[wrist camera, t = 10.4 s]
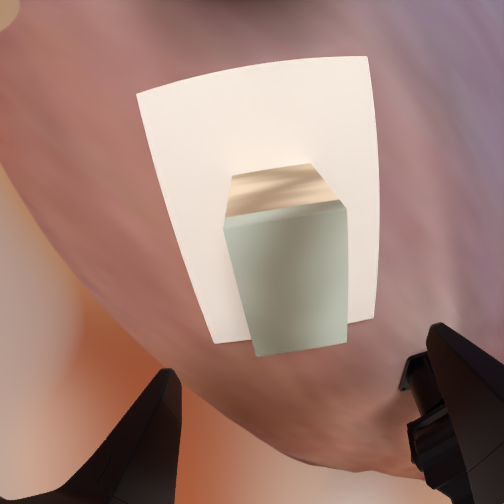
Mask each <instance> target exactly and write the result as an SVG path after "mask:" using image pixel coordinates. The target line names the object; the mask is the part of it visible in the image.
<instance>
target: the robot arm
mask: <svg viewBox="0 0 504 504" xmlns="http://www.w3.org/2000/svg"><path fill="white" fill-rule="evenodd" d="M426 346H427V350H428V351H427V352H424V353H421V354H417V355H414V356H411V357H410V358H409V359H408V361H407V365H406V368H405V371H404V374H403V377H402V380H401V383H400V386H399V389H400V391H405V390H408V389H411V391H412V394H413V396H414V399H415V401H416V404H417V407H418V409H419V412H420V415H421V417H420V418H418V419H416V420H415V421H413V422H410V423H408V424H407V428H408V430H407V433H408V438H409V444H410V450H411V462H412V463H413V464H415V465H416V466H417V467H418V469H419V470H420V471H421V472H424V475H425V480H426V483H427V485H428V486H429V487H431V488H432V489H437V490H439V491H440V492H442V493H443V494H445V495H446V496H448V497H449V498H450V499H451V501H452V504H504V365H503V364H502V363H501V362H499V361H498V360H496V359H495V358H493V357H492V356H491V355H489V354H488V353H486V352H485V351H483V350H482V349H481V348H479V347H478V346H476V345H475V344H473V343H472V342H470V341H469V340H467V339H466V338H464V337H463V336H462V335H460V334H459V333H457V332H456V331H454V330H453V329H451V328H450V327H448V326H447V325H445V324H444V323H441V322H439V323H436V324H433V325H431V326H430V329H429V333H428V336H427V339H426ZM181 425H182V386H181V382H180V380H179V378H178V377H177V375H176V373H175V371H174V370H173V369H172V368H164V369H161V370H160V371H159V372H158V373H157V374H156V376H155V377H154V378H153V379H152V381H151V382H150V383H149V384H148V386H147V387H146V388H145V389H144V391H143V392H142V393H141V395H140V396H139V397H138V399H137V400H136V401H135V402H134V404H133V405H132V406H131V407H130V409H129V410H128V411H127V413H126V414H125V415H124V416H123V418H122V419H121V420H120V421H119V423H118V424H117V425H116V427H115V428H114V429H113V430H112V432H111V433H110V434H109V435H108V437H107V438H106V440H104V442H103V443H102V444H101V445H100V447H99V448H98V449H97V450H96V452H95V453H94V454H93V455H92V456H91V457H90V458H89V460H88V461H87V462H86V463H85V464H84V465H83V466H82V467H81V468H80V469H79V470H78V471H77V472H76V473H75V474H74V475H73V476H72V477H71V478H70V479H69V480H68V481H67V482H66V483H65V484H64V485H62V486H61V487H60V488H58V489H56V490H54V491H50V492H47V493H43V494H39V495H35V496H31V497H27V498H23V499H18V500H6V499H4V498H3V497H1V496H0V504H174V500H175V488H176V476H177V465H178V455H179V445H180V436H181Z"/></svg>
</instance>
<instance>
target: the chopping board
mask: <svg viewBox="0 0 504 504" xmlns="http://www.w3.org/2000/svg"><path fill="white" fill-rule="evenodd" d="M136 95H137V99H138V104H139V108H140V112H141V116H142V120H143V124H144V128H145V132H146V136H147V140H148V144H149V147H150V151H151V155H152V158H153V162H154V166H155V169H156V173H157V176H158V180H159V183H160V187H161V190H162V193H163V197H164V200H165V203H166V207H167V210H168V213H169V216H170V220H171V223H172V226H173V229H174V232H175V235H176V238H177V241H178V244H179V247H180V250H181V253H182V256H183V259H184V262H185V265H186V268H187V271H188V274H189V277H190V280H191V282H192V285H193V288H194V291H195V294H196V296H197V299H198V302H199V305H200V307H201V310H202V313H203V315H204V318H205V321H206V323H207V326H208V329H209V331H210V334H211V336H212V339H213V341H214V344H217V343H226V342H235V341H243V340H251V336H250V332H249V328H248V325H247V321H246V317H245V313H244V310H243V306H242V302H241V298H240V294H239V290H238V287H237V283H236V279H235V275H234V271H233V267H232V263H231V259H230V255H229V251H228V247H227V243H226V239H225V235H224V231H223V226H224V220H225V214H226V208H227V202H228V196H229V191H230V185H231V179H232V176H233V175H238V174H244V173H249V172H255V171H261V170H267V169H273V168H279V167H286V166H292V165H299V164H306V163H311V164H312V166H313V167H314V168H315V169H316V170H317V172H318V173H319V174H320V175H321V177H322V178H323V179H324V180H325V182H326V183H327V184H328V185H329V187H330V188H331V189H332V190H333V192H334V193H335V194H336V196H337V197H338V198H339V200H340V201H341V202H342V203H343V205H344V206H345V207H346V209H347V223H348V322H347V324H348V323H353V322H358V321H362V320H367V319H372V318H374V308H375V298H376V286H377V271H378V252H379V166H378V147H377V133H376V121H375V111H374V102H373V93H372V85H371V78H370V71H369V65H368V59H367V56H346V57H323V58H308V59H297V60H288V61H279V62H271V63H264V64H257V65H251V66H245V67H239V68H234V69H229V70H224V71H219V72H214V73H210V74H205V75H201V76H197V77H193V78H189V79H185V80H181V81H178V82H174V83H170V84H167V85H164V86H160V87H157V88H154V89H150V90H147V91H144V92H141V93H138V94H136Z"/></svg>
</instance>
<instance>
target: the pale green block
mask: <svg viewBox="0 0 504 504" xmlns="http://www.w3.org/2000/svg"><path fill="white" fill-rule="evenodd" d="M223 231H224V235H225V239H226V243H227V247H228V251H229V255H230V259H231V263H232V267H233V271H234V275H235V279H236V283H237V287H238V290H239V294H240V298H241V302H242V306H243V310H244V313H245V317H246V321H247V325H248V328H249V332H250V336H251V340H252V343H253V347H254V351H255V354H256V357H260V356H268V355H275V354H282V353H289V352H295V351H301V350H307V349H313V348H319V347H324V346H330V345H335V344H340V343H345V342H347V322H348V223H347V209H346V207H345V206H344V205H343V203H342V202H341V201H340V200H339V198H338V197H337V196H336V194H335V193H334V192H333V190H332V189H331V188H330V187H329V185H328V184H327V183H326V182H325V180H324V179H323V178H322V177H321V175H320V174H319V173H318V172H317V170H316V169H315V168H314V167H313V166H312V164H311V163H306V164H299V165H292V166H286V167H279V168H273V169H267V170H261V171H255V172H249V173H244V174H238V175H233V176H232V179H231V185H230V191H229V196H228V202H227V208H226V214H225V220H224V226H223Z"/></svg>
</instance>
